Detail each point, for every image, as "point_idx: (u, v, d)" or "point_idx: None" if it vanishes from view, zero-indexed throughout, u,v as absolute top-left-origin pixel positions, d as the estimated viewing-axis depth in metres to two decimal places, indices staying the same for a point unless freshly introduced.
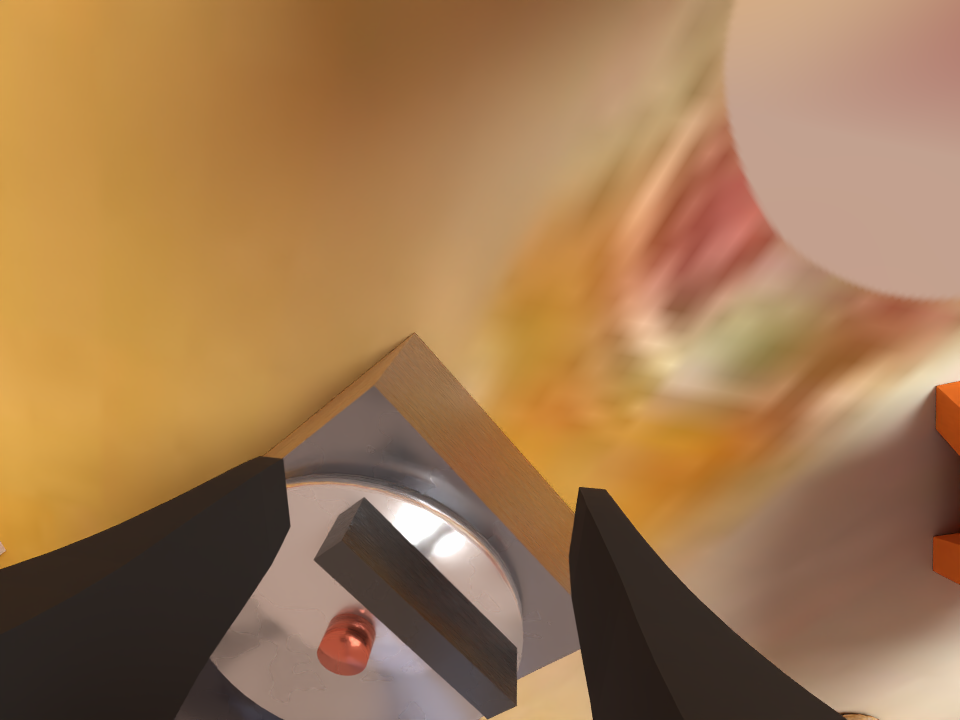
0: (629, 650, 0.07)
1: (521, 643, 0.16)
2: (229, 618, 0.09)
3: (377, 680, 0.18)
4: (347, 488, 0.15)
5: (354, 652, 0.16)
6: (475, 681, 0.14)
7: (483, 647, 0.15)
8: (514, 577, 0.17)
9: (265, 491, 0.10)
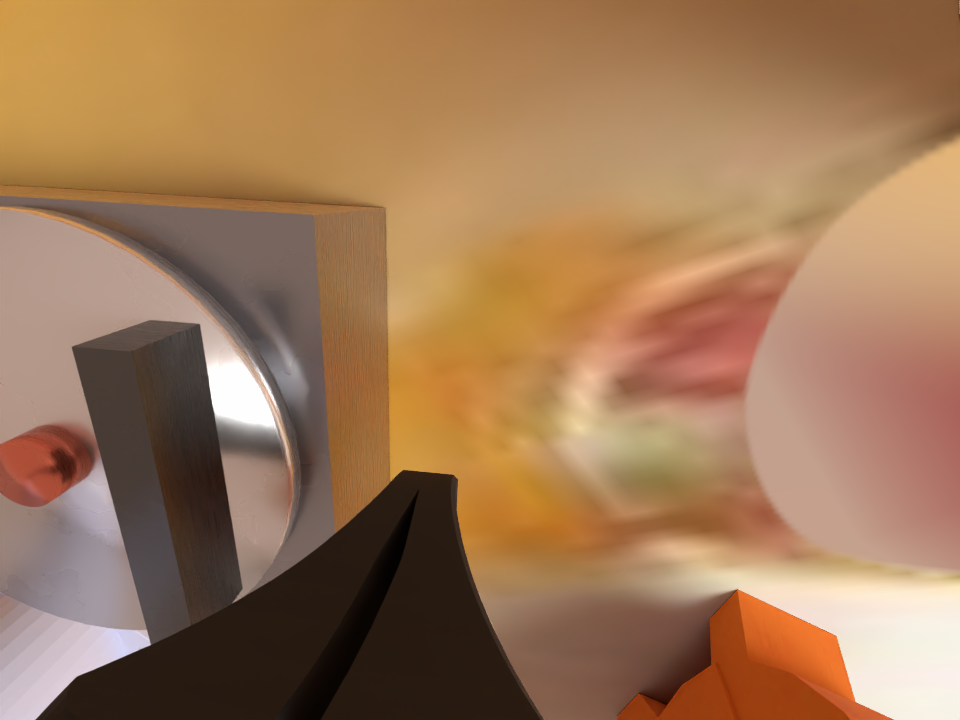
0: None
1: (251, 587, 0.13)
2: None
3: (48, 524, 0.13)
4: (186, 299, 0.10)
5: (41, 481, 0.11)
6: (170, 604, 0.11)
7: (208, 572, 0.12)
8: (296, 518, 0.14)
9: None
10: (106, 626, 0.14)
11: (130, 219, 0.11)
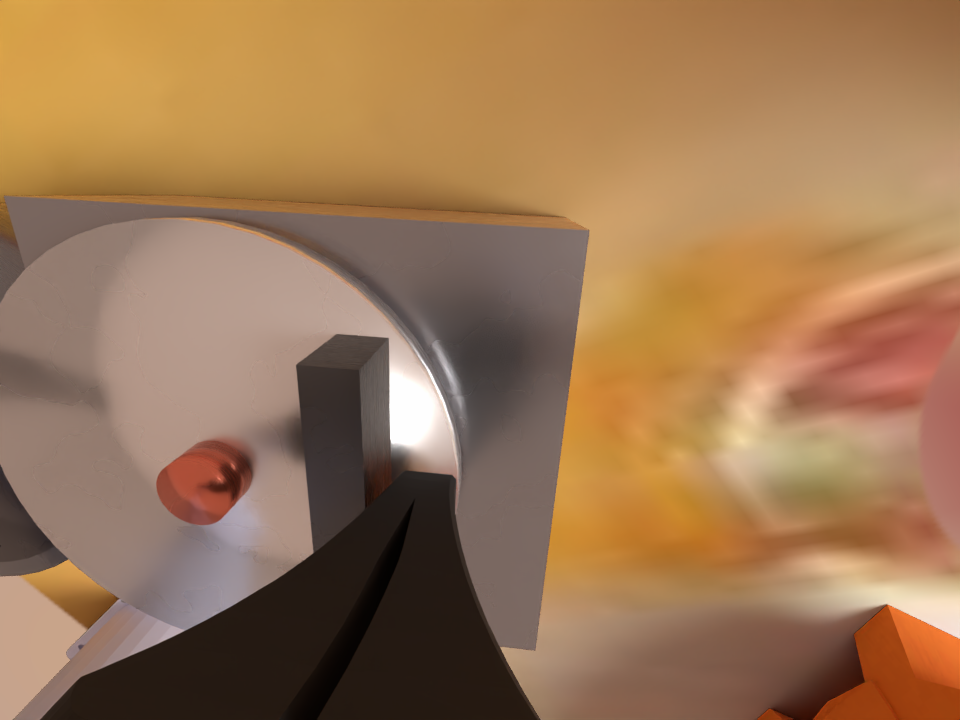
0: None
1: None
2: None
3: (197, 540, 0.13)
4: (377, 312, 0.10)
5: (214, 500, 0.11)
6: None
7: None
8: (508, 540, 0.13)
9: None
10: None
11: (388, 235, 0.11)
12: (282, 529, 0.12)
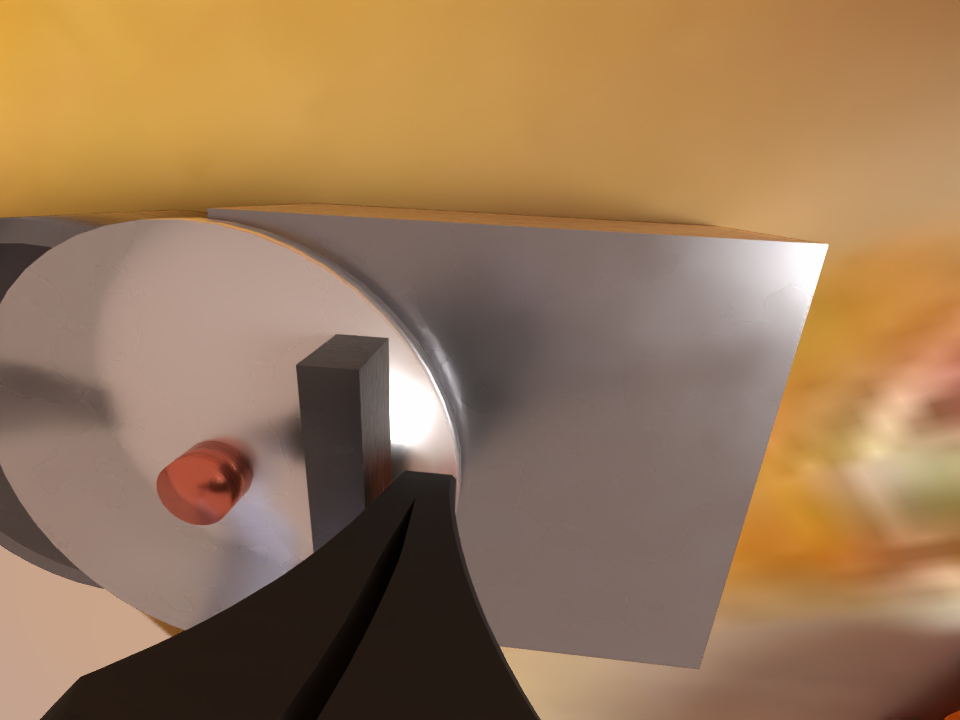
0: None
1: None
2: None
3: (197, 540, 0.13)
4: (377, 313, 0.10)
5: (214, 500, 0.11)
6: None
7: None
8: (689, 558, 0.13)
9: None
10: None
11: (612, 248, 0.10)
12: (282, 529, 0.12)
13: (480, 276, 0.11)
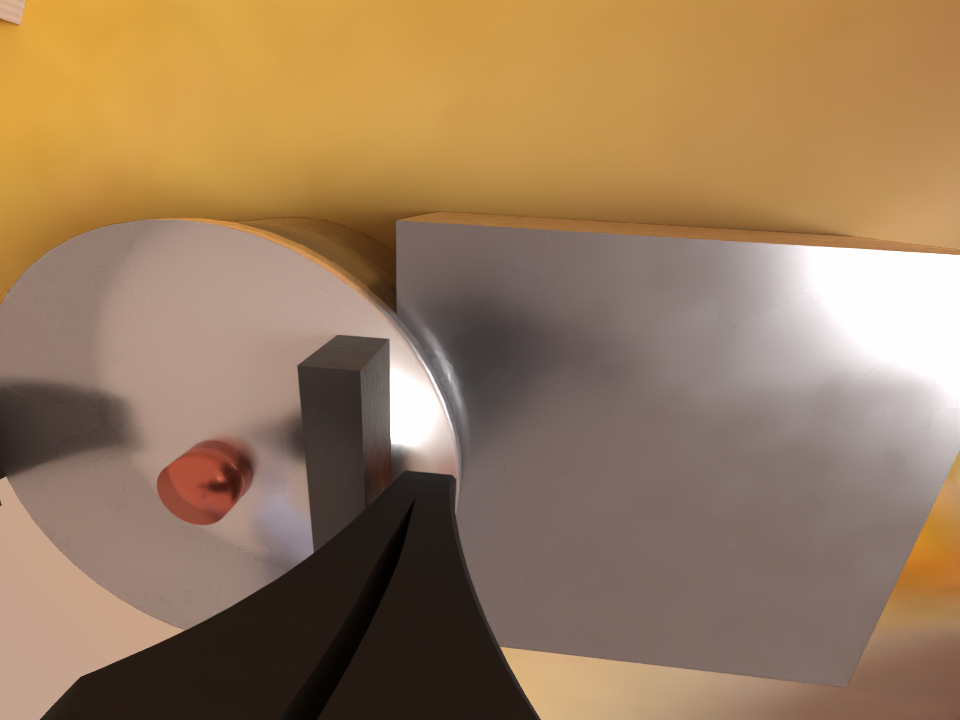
0: None
1: None
2: None
3: (197, 540, 0.13)
4: (378, 314, 0.10)
5: (214, 499, 0.11)
6: None
7: None
8: (853, 576, 0.13)
9: None
10: None
11: (819, 264, 0.10)
12: (282, 529, 0.12)
13: (675, 291, 0.11)
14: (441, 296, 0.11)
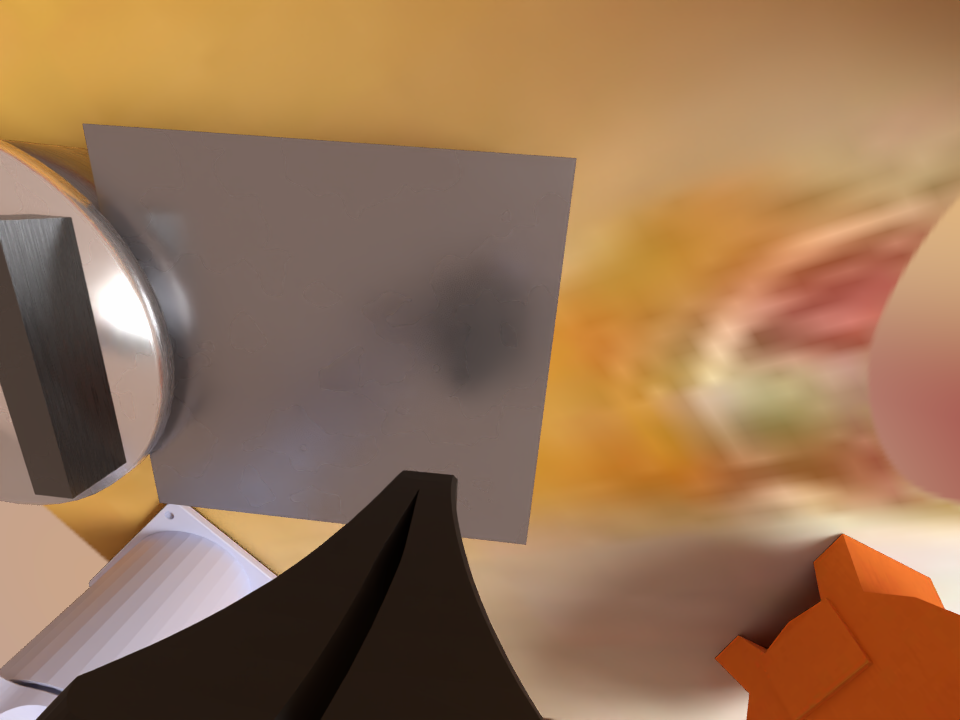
0: None
1: (133, 461, 0.16)
2: None
3: None
4: (59, 195, 0.13)
5: None
6: (46, 451, 0.13)
7: (85, 432, 0.14)
8: (504, 439, 0.15)
9: None
10: (13, 501, 0.17)
11: (409, 161, 0.13)
12: None
13: (307, 185, 0.13)
14: (130, 189, 0.14)
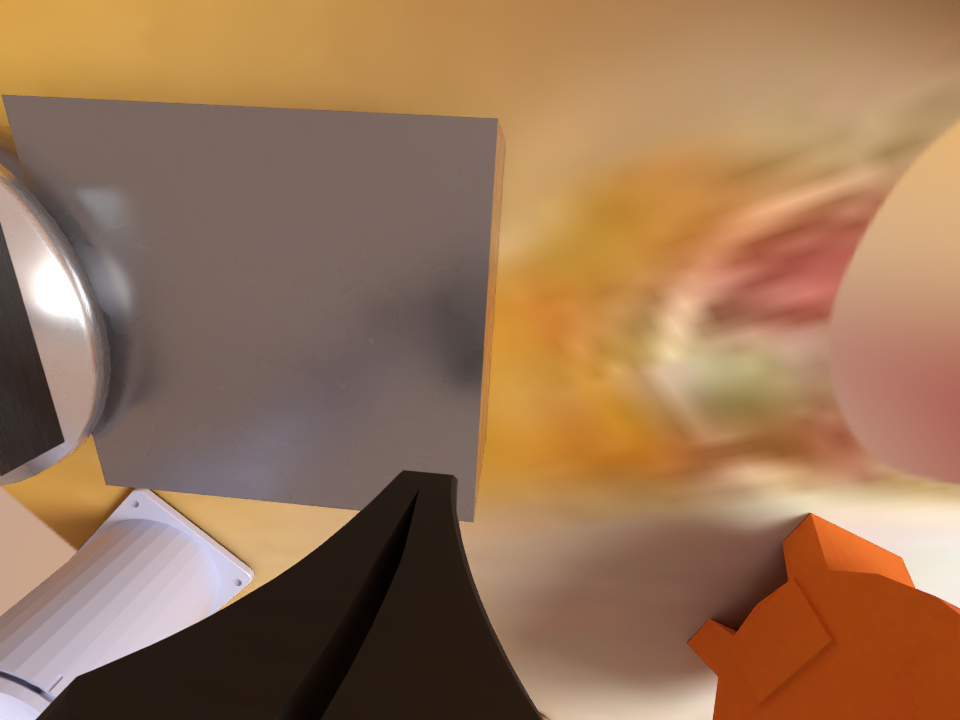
0: None
1: (71, 440, 0.15)
2: None
3: None
4: None
5: None
6: None
7: (14, 409, 0.14)
8: (444, 413, 0.15)
9: None
10: None
11: (329, 125, 0.12)
12: None
13: (230, 153, 0.13)
14: (54, 162, 0.13)
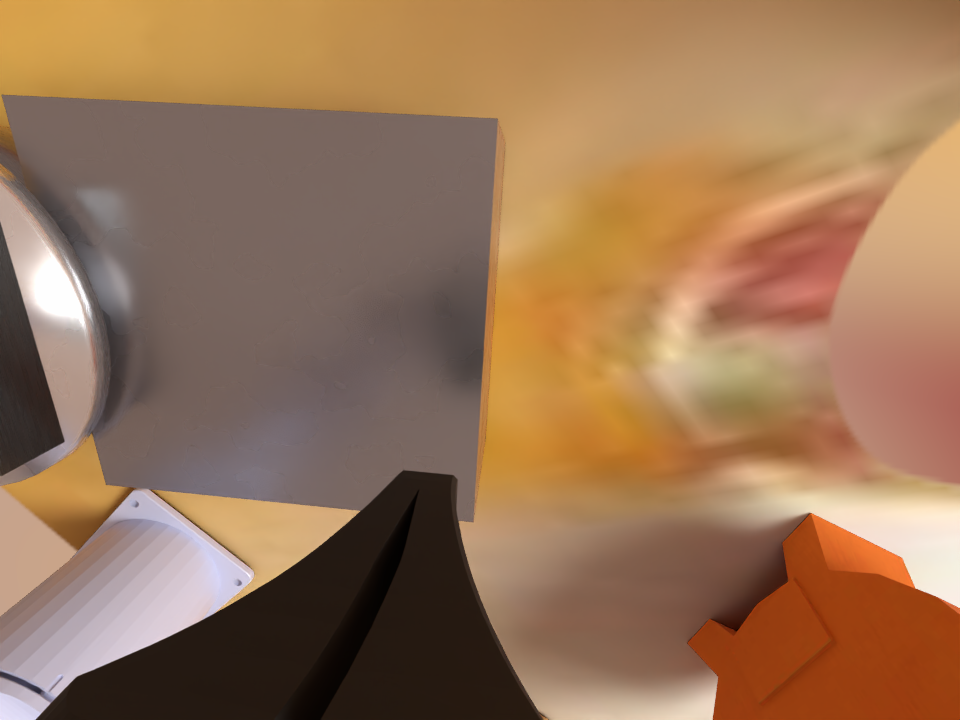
0: None
1: (71, 440, 0.15)
2: None
3: None
4: None
5: None
6: None
7: (14, 409, 0.14)
8: (444, 413, 0.15)
9: None
10: None
11: (329, 125, 0.12)
12: None
13: (230, 153, 0.13)
14: (54, 162, 0.13)
